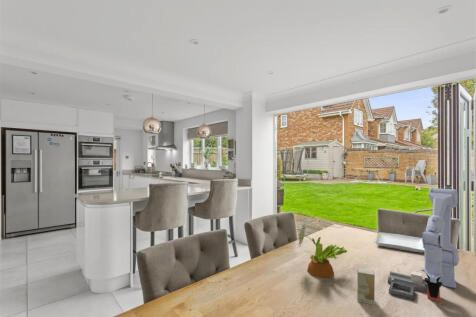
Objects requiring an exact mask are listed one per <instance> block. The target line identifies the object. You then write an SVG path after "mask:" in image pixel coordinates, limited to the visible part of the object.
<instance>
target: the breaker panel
mask: <svg viewBox="0 0 476 317" xmlns="http://www.w3.org/2000/svg"><path fill="white" fill-rule="evenodd" d="M391 281H392V282H396V283H400V284H404V285H408V286H412V287H414V291H417V292H422V293H425V292H426V282H425V278H422V284H420V283H416V282H412V281H411V275H408V274H404V273H400V272H395V271H391V270H390V271H389V275H388V276H387V284H389V285H390V284H391Z"/></svg>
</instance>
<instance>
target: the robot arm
mask: <svg viewBox="0 0 476 317" xmlns="http://www.w3.org/2000/svg"><path fill="white" fill-rule="evenodd" d="M458 195H459V194H458V190H456V189H455V188H453V189H451V188H434V187H431V188H429V190H428V199H429V200H430V202H431V204H432V215H431V216H429V217H428V219H427V224H426V228H425V231H423V232H422V234H421V235H422V236H421V238H422V242H423V248H424V252H423V253H424V267H421V269H420V270H421V272H424V273H425V274H426V276H427V277H424V279H425V285H427V286H428V289H429V294H430V297H433V298H437V296H438V292H439V289H440V288H442V286H444V287H448V288H452V289H457V284H456V279H455V277H456V276H455V274H456V273H455V267H456V266H458V265H459V261H460V256H459V249H458V248H457V247H456V246H455V245H454V244H452V243H451V236H452V234H451V231H452V230H451V229H452V211H453V208H457V207H458V200H459V199H458V198H459V196H458ZM440 290H441V289H440Z"/></svg>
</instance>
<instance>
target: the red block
mask: <svg viewBox="0 0 476 317" xmlns="http://www.w3.org/2000/svg"><path fill="white" fill-rule="evenodd" d="M426 291H427V296H426V297H427V299H428V300H431V301H436V302H441V292H440V291H441V289H439V292H438V296H437V298H433V297H430V294H429V289H428V286H427V290H426Z"/></svg>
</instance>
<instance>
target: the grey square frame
mask: <svg viewBox="0 0 476 317" xmlns="http://www.w3.org/2000/svg"><path fill="white" fill-rule="evenodd" d="M394 288H396V289H394ZM398 289H399V290H398ZM401 290H403V291H401ZM405 291H406V292H405ZM409 292H410V293H409ZM388 294H389V295H392V296H396V297H400V298H404V299H408V300H410V301H413V300H414V296H415V290H414V287H412V286H408V285H404V284H400V283H396V282H392V281H391V284H389V286H388Z"/></svg>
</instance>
